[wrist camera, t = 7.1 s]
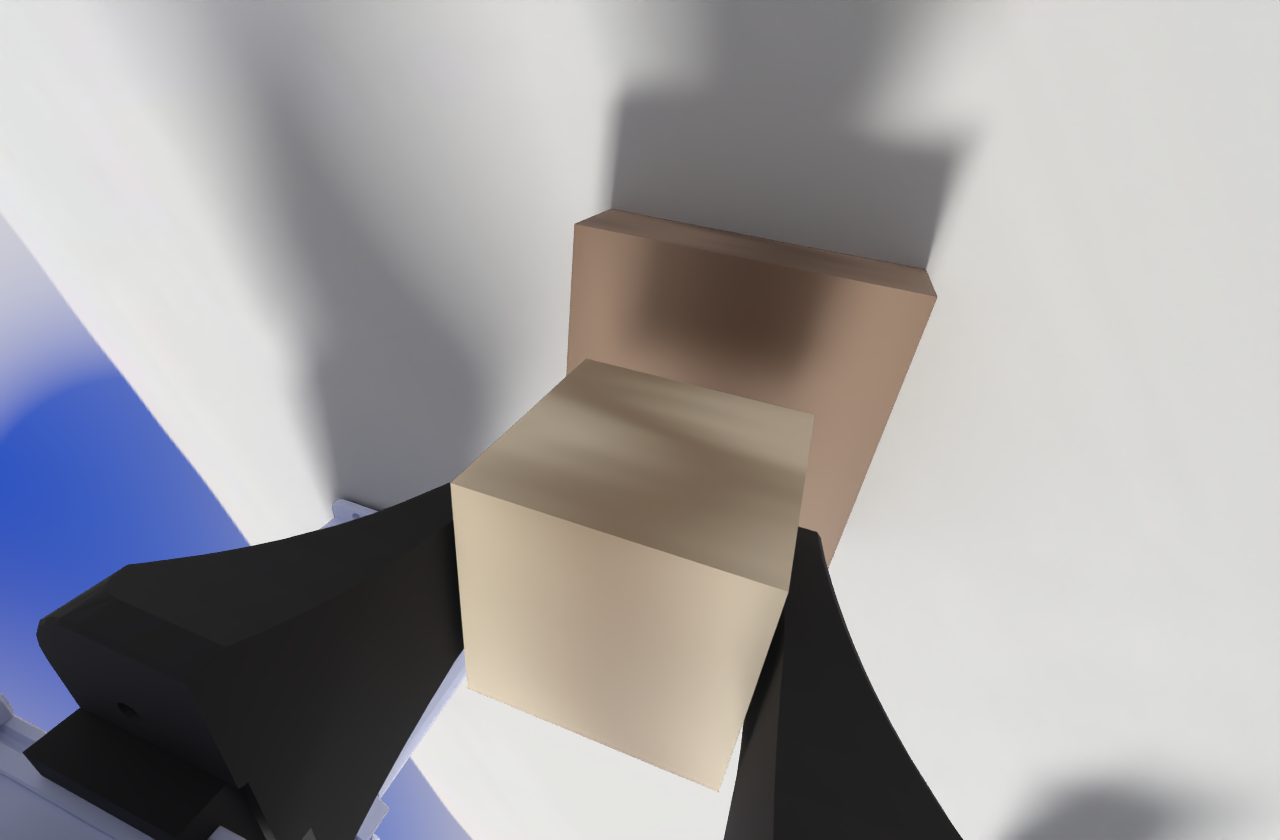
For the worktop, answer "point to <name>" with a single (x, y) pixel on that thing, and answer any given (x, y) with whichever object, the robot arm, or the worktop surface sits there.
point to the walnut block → (756, 333)
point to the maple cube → (631, 561)
